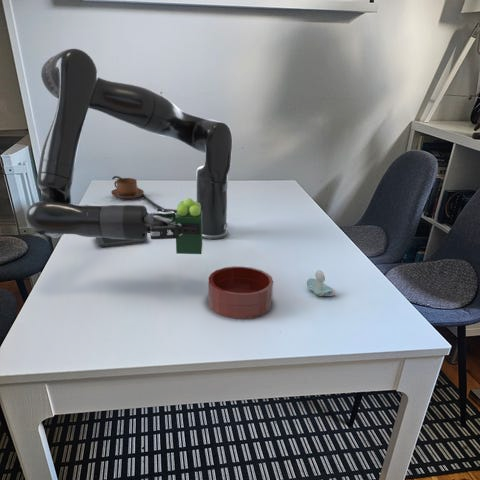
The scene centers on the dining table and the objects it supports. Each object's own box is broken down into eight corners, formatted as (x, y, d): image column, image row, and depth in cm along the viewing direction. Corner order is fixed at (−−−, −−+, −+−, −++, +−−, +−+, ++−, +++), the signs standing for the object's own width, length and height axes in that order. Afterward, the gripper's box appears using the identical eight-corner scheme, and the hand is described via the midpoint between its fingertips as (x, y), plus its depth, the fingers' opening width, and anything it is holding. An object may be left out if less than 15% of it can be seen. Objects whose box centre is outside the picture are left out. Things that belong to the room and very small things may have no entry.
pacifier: (321, 284, 117) (302, 288, 114) (325, 262, 114) (306, 265, 111) (340, 296, 112) (321, 301, 109) (344, 273, 108) (325, 277, 106)
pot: (196, 306, 104) (195, 283, 101) (229, 283, 115) (230, 261, 112) (252, 325, 98) (253, 301, 95) (281, 299, 109) (283, 276, 106)
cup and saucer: (106, 199, 171) (104, 183, 168) (119, 191, 181) (117, 175, 178) (137, 202, 170) (136, 185, 166) (148, 193, 180) (147, 178, 177)
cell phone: (95, 238, 137) (95, 236, 136) (141, 233, 142) (141, 231, 141) (99, 247, 131) (98, 244, 131) (147, 242, 136) (147, 239, 135)
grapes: (176, 253, 102) (174, 202, 96) (178, 244, 107) (176, 194, 101) (201, 254, 103) (201, 202, 96) (202, 244, 107) (202, 195, 101)
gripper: (116, 216, 93) (199, 218, 94) (128, 195, 105) (202, 198, 106) (119, 250, 97) (199, 252, 98) (131, 227, 109) (202, 229, 110)
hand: (200, 224), depth 102 cm, fingers closed on grapes, 5 cm apart
